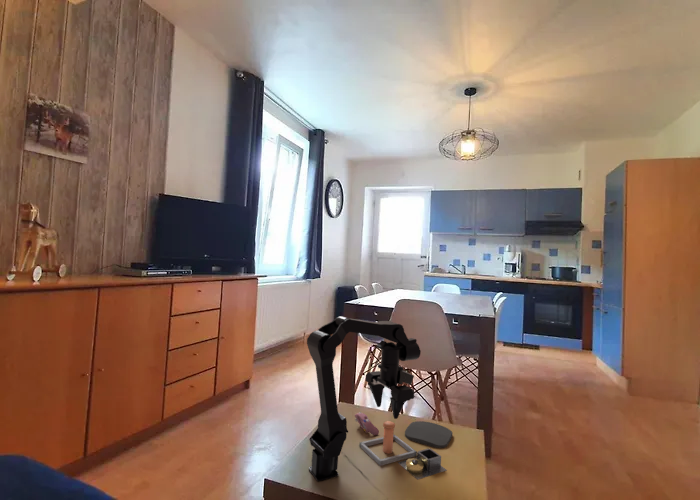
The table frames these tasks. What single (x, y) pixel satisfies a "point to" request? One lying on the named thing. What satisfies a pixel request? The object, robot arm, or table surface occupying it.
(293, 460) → the table surface
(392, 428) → the pin
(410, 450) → the tray
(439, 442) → the media streaming box
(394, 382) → the robot arm
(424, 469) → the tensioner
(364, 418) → the video game controller
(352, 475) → the table surface
